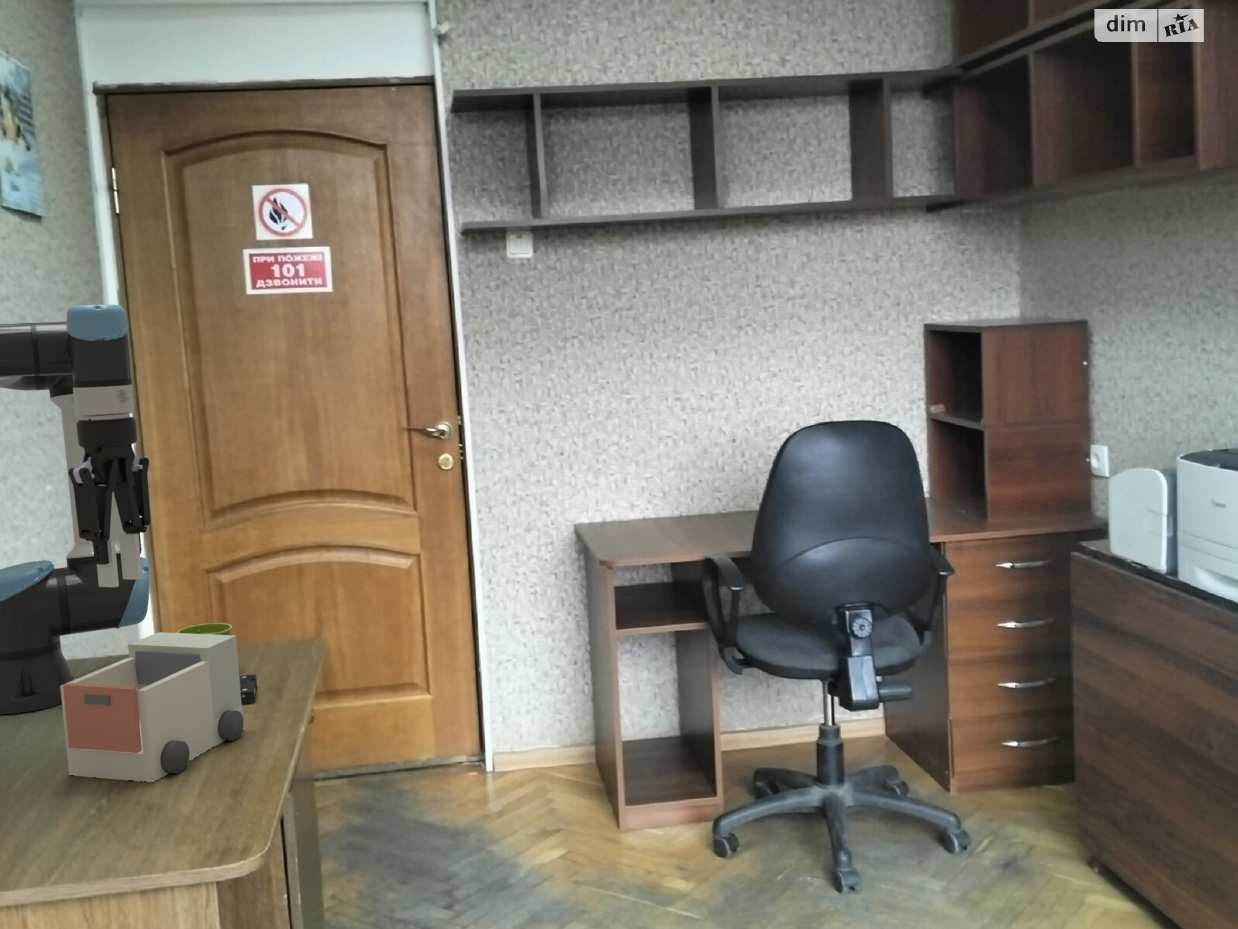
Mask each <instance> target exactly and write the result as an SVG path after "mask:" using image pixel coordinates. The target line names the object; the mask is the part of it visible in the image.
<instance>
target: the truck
mask: <svg viewBox="0 0 1238 929" xmlns="http://www.w3.org/2000/svg"><path fill="white" fill-rule="evenodd" d="M237 644H238V643H237V635H235V634H233V635H231V634H230V635H211V634H188V633H177V632H161V631H160V632H159V631H158V632H156V633H153V634H151V635H148V636H146V637H143V638H141V639H137V640H136V641H133V642H130V643H129V644H127V648H128V649H127V650H128V657H126V658H124V659H122V660H120V661H117V662H115V663H112V664H110V665H107V666H105V667H103V668H99V669H97V670H95V671H93V672H90V673H87V674H86V675H83V676H81V677H78V678H75V680H73V681H71V682H68V683H80V684H97V685H114V686H131V687H136V692H137V703H138V714H139V725H140V736H141V746H142V751H140V752H138V753H129V752H117V751H104V750H91V749H78V748H69V742H68V732H67V722H66V711H65V701H64V691H63V685H64V684H63V685H61V686H60V688H61V698H62V703H61V708H62V716H63V717H62V718H63V727H64V737H65V738H64V739H65V747H66V758H67V766H68V769H67V770H68V776H70V775H74V776H73V777H84V778H93V777H96V779H105V778H106V779H108V780H119V781H128V780H133V781H132V782H140V781H143V783H151V782H154V781H155V782H157V781H159V780H160V779H162V778H164V777H166V776H168V775H169V774H180V773H182V772H183V771H184V770H185V769H186V768H187V765H188V763H190V762H191V761H193V760H195V759H196V758H195V757H197V756H198V757H200V756H201V755H200V754H202V753H203V754H205V753H206V751H207V750H208V749H210V750H212V749H213V748H212V747H213V746H215V747H217V746H218V745H217V744H219V743H221V744H222V743H224V742H225V740H226V741H236V740H237V739H239V738H240V736H241V735H242V733H243V731H244V730H243V729H244V716H243V705H242V704H241V691H240V679H239V676H240V669H239V657H238V654H239V653H238V645H237ZM66 684H67V683H66ZM242 730H243V731H242ZM235 739H236V740H235ZM223 741H224V742H223ZM216 745H217V746H216ZM219 745H220V744H219ZM211 748H212V749H211ZM204 752H205V753H204ZM207 752H208V751H207ZM203 754H202V755H203ZM199 755H200V756H199ZM198 757H197V758H198ZM194 758H195V759H194ZM190 760H191V761H190ZM189 761H190V762H189ZM168 773H169V774H168ZM161 777H162V778H161ZM156 780H157V781H156ZM144 781H146V782H144ZM155 782H154V783H155Z"/></svg>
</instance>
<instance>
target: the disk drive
mask: <svg viewBox="0 0 1238 929" xmlns="http://www.w3.org/2000/svg"><path fill="white" fill-rule="evenodd" d="M239 679H240V691H241V704H242V706H243V705H250V704H256V703H255V702H256V697H257V696H256V695H257V689H256V688H258V683H257V682H258V681H257V674H255V673H254V674H245V675H239ZM255 696H256V697H255Z"/></svg>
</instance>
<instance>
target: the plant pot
mask: <svg viewBox="0 0 1238 929" xmlns="http://www.w3.org/2000/svg"><path fill="white" fill-rule="evenodd" d="M232 629H233V625H232V624H229V623H226V622H213V623H211V622H210V623H200V624H199V623H198V624H194V625H190V626H187V627H183V628H180V629H178V630H177V631H176V633H188V634H211V635H231V634H230V633H231V630H232Z"/></svg>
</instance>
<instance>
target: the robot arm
mask: <svg viewBox="0 0 1238 929" xmlns="http://www.w3.org/2000/svg"><path fill="white" fill-rule="evenodd" d="M66 310H67V311H66V321H50V322H48V321H47V322H46V321H45V322H19V323H0V388H1V389H10V390H16V391H48V392H49V400H50V402H52V404H54V405H55V406H57V407H58V408H59V409H60V411H61V422H62V431H63V441H64V450H65V452H64V453H65V459H66V460H65V462H66V471H67V480H68V490H69V501H70V512H71V520H72V529H73V540H74V541H73V543H74V544H73V545H74V546H73V548H71V550H70V551H69V552H68V554H67V555H66V557H65V558H66V566H64V567H57V568H55V565H54V564H53V562H52V561H51V560H47V559H45V560H44V559H43V560H37V561H36V560H33V561H28V562H22V563H18V564H14V565H11V566H6V567H4V568H0V715H12V714H22V713H21V712H23V713H28V712H33V711H34V712H35V711H38V710H43V709H47V708H51V707H54V706H57V705H59V704H62V698H61V688H60V686H61V685H63V684H66V683H68V682H71V681H73V680H76V678H75V676H74V675H72V674H71V670H70V667H69V665H68V663H67V660H66V658H65V655H64V653H63V652H62V646H61V645H62V644H61V637H62V636H68V635H73V634H74V635H75V634H81V633H89V632H94V631H105V630H109V629H110V630H111V629H116V630H118V629H121V628H123V627H129V626H134V625H139V624H140V623H142V622H143V621H144V620H145V619H146V616H147V613H148V608H149V600H150V586H151V585H150V583H151V582H150V581H151V580H150V578H151V576H150V563H149V562H150V561H149V559H147V558H146V557H143V556H142V557H141V555H142V540H141V533H146V532H147V531H148V526H150V525H151V510H150V509H151V508H150V494H149V480H148V479H149V478H148V477H149V476H148V472H149V466H150V459H149V458H148V457H139V456H137V455H136V453H135V450H134V449H133V446H132V445H133V444H135V443H137V442H138V434H137V433H138V432H137V422H136V421H137V420H136V419H135V418H134V417H133V416H131V414H133V413H135V404H134V394H133V386H132V384H133V380H132V374H131V373H132V372H131V359H130V345H129V343H130V342H129V328H130V327H129V326H128V322H127V315H126V310H125V309H124V307H123V306H122V305H119V304H79V305H72V306H70V307H68V308H67V309H66Z"/></svg>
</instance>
